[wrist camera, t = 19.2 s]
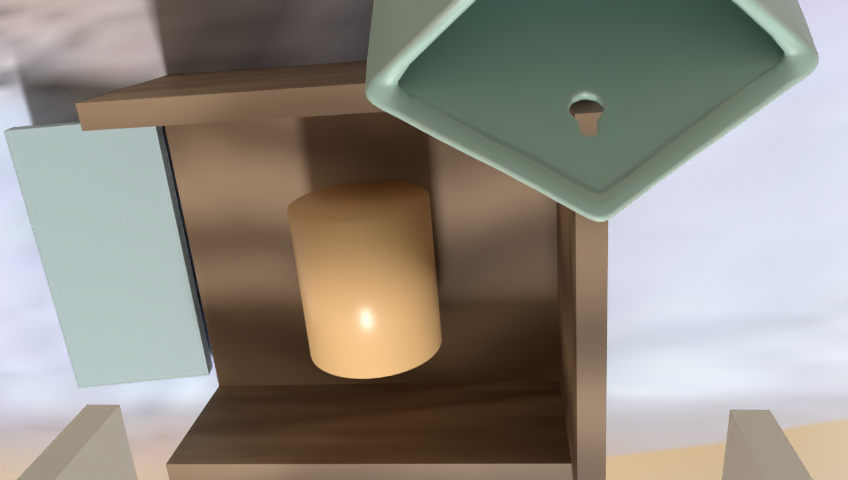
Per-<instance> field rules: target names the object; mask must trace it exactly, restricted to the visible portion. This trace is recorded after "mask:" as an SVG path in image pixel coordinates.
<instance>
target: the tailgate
mask: <svg viewBox="0 0 848 480" xmlns="http://www.w3.org/2000/svg"><path fill="white" fill-rule="evenodd" d="M4 133H5V137H6V140H7V144H8V147H9V151H10V154H11V157H12V161H13V164H14V168H15V171H16V175H17V178H18V182H19V185H20V188H21V192H22V195H23V199H24V202H25V206H26V209H27V213H28V216H29V219H30V223H31V226H32V230H33V233H34V237H35V240H36V244H37V247H38V250H39V254H40V257H41V261H42V264H43V268H44V271H45V275H46V278H47V281H48V285H49V288H50V292H51V295H52V299H53V302H54V306H55V309H56V312H57V316H58V319H59V323H60V326H61V330H62V333H63V337H64V340H65V343H66V347H67V350H68V354H69V357H70V361H71V364H72V368H73V371H74V374H75V378H76V381H77V385H78V388H84V387H94V386H104V385H114V384H124V383H134V382H144V381H154V380H164V379H173V378H183V377H193V376H203V375H209V374H210V371H211V369H212V367H213V366H212V362H211V357H210V352H209V348H208V343H207V338H206V333H205V329H204V324H203V319H202V314H201V310H200V305H199V300H198V296H197V291H196V286H195V281H194V277H193V272H192V267H191V262H190V258H189V253H188V248H187V244H186V239H185V234H184V229H183V225H182V220H181V215H180V210H179V206H178V201H177V196H176V192H175V187H174V182H173V177H172V173H171V168H170V163H169V158H168V154H167V149H166V144H165V139H164V135H163V130H162V126H154V127H138V128H123V129H107V130H91V131H82V128H81V124H80V121H78V122H67V123H56V124H45V125H34V126H23V127H13V128H10V129H8V130H5V131H4Z"/></svg>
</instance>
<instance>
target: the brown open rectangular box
mask: <svg viewBox="0 0 848 480" xmlns="http://www.w3.org/2000/svg"><path fill="white" fill-rule="evenodd" d="M366 67H367V61H355V62H342V63H328V64H314V65H301V66H287V67H273V68H260V69H246V70H232V71H219V72H205V73H191V74H178V75H167V76H163V77H160V78H157V79H154V80H150V81H147V82H144V83H140V84H137V85H134V86H131V87H127V88H124V89H121V90H118V91H114V92H111V93H108V94H105V95H101V96H98V97H95V98H92V99H88V100H85V101H82V102H78V103H75V104H76V108H77V112H78V116H79V120H80V124H81V128H82V131H91V130H107V129H123V128H138V127H154V126H165V130H166V135H167V139H168V144H169V149H170V154H171V158H172V163H173V168H174V173H175V177H176V182H177V187H178V192H179V197H180V201H181V206H182V211H183V216H184V220H185V225H186V230H187V235H188V239H189V244H190V249H191V254H192V258H193V263H194V268H195V273H196V277H197V282H198V287H199V292H200V297H201V301H202V306H203V311H204V316H205V320H206V325H207V330H208V335H209V339H210V344H211V349H212V354H213V358H214V363H215V368H216V373H217V377H218V382H219V387H218V389H217V390H216V392H215V393H214V395H213V396H212V397H211V399H210V400H209V402H208V403H207V405H206V406H205V408H204V409H203V411H202V412H201V414H200V415H199V417H198V418H197V420H196V421H195V422H194V424H193V425H192V427H191V428H190V430H189V431H188V433H187V434H186V436H185V437H184V439H183V440H182V442H181V443H180V445H179V446H178V447H177V449H176V450H175V452H174V453H173V455H172V456H171V458H170V459H169V461H168V462H167V464H166V466H167V470H168V474H169V478H170V480H605V476H606V471H605V470H606V468H605V466H606V374H607V270H608V220H607V221H604V222H595V221H593V220H590V219H588V218H586V217H584V216H582V215H580V214H578V213H576V212H575V211H573V210H571V209H569V208H567V207H566V206H564V205H562V204H560V203H558V202H556V201H555V200H553V199H551V198H549V197H547V196H546V195H544V194H542V193H540V192H539V191H537V190H535V189H533V188H531V187H529V186H527V185H526V184H524V183H522V182H520V181H518V180H516V179H514V178H512V177H511V176H509V175H507V174H505V173H503V172H501V171H499V170H497V169H495V168H494V167H491V166H489V165H487V164H485V163H483V162H481V161H479V160H477V159H475V158H473V157H471V156H469V155H467V154H465V153H463V152H461V151H459V150H457V149H456V148H454V147H452V146H450V145H448V144H446V143H444V142H442V141H440V140H438V139H436V138H434V137H432V136H431V135H429V134H427V133H425V132H423V131H421V130H419V129H418V128H416V127H414V126H412V125H410V124H408V123H407V122H405V121H403V120H401V119H399V118H397V117H395V116H393V115H391V114H389V113H387V112H385V111H383V110H381V109H380V108H378V107H376V106H375V105H373V104H372V103H371V102H370V101H369V100H368V99H367V98H366V95H365V82H366ZM569 111H570V113H571V115H572V116H573V117H574V118H575V119H576V120H577V121H578V122H579V125H580V131H581V132H582V133H583V134H584V135H587V136H594V135H596V134H597V120H598V119H599V117H600V116H601V115H602V112H603V107H602V106H601V105H600V104H599V103H597V102H595V101H591V100H580V101H577V102H575V103H572V105H571V106H570V107H569ZM363 181H402V182H409V183H413V184H417V185H420V186H422V187H424V188H425V189H427V190H428V192H429V198H430V209H431V221H432V232H433V243H434V255H435V266H436V277H437V289H438V300H439V311H440V323H441V334H442V343H441V346H440V348H439V349H438V351H437V352H436V353H435V354H434V356H433V357H431V358H430V359H429V360H428V361H426V362H424V363H423V364H421V365H419V366H417V367H415V368H413V369H411V370H408V371H405V372H402V373H399V374H395V375H391V376H386V377H380V378H369V379H356V378H345V377H340V376H336V375H332V374H329V373H327V372H325V371H323V370H321V369H320V368H318V367H317V366H316V365H315V364H314V362H313V361H312V358H311V354H310V348H309V341H308V335H307V329H306V323H305V317H304V311H303V305H302V298H301V292H300V286H299V280H298V274H297V268H296V261H295V255H294V249H293V243H292V237H291V231H290V224H289V218H288V212H287V208H288V206H289V205H290V204H291V203H292V202H293V201H294V200H296V199H297V198H299V197H301V196H303V195H305V194H308V193H310V192H313V191H316V190H319V189H323V188H327V187H331V186H336V185H341V184H347V183H354V182H363Z"/></svg>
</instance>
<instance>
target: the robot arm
mask: <svg viewBox="0 0 848 480" xmlns="http://www.w3.org/2000/svg"><path fill="white" fill-rule="evenodd" d="M17 480H138V479H137V475H136V471H135V467H134V463H133V458H132V454H131V450H130V446H129V442H128V438H127V434H126V430H125V426H124V422H123V418H122V414H121V409H120V405H86V406H85V408H84V409H83V410H82V411H81V412H80V413H79V414H78V415H77V416H76V417H75V418H74V419H73V420H72V421H71V422H70V424H69V425H68V426H67V427H66V428H65V429H64V430H63V431H62V432H61V433H60V434H59V435H58V436H57V437H56V438H55V440H54V441H53V442H52V443H51V444H50V445H49V446H48V447H47V448H46V449H45V450H44V451H43V452H42V453H41V455H40V456H39V457H38V458H37V459H36V460H35V461H34V462H33V463H32V464H31V465H30V466H29V467H28V468H27V469H26V471H25V472H24V473H23V474H22V475H21V476H20V477H19V478H18V479H17ZM722 480H813V479H812V478H811V476H810V475H809V473H808V471H807V470H806V468H805V466H804V465H803V463H802V462H801V460H800V458H799V457H798V455H797V454H796V452H795V451H794V449H793V447H792V445H791V444H790V442H789V441H788V439H787V437H786V436H785V434H784V433H783V431H782V429H781V428H780V426H779V425H778V423H777V421H776V420H775V418H774V416H773V415H772V413H771V412H770V410H730V415H729V424H728V433H727V441H726V450H725V459H724V467H723V476H722Z"/></svg>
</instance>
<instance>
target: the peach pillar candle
mask: <svg viewBox="0 0 848 480" xmlns="http://www.w3.org/2000/svg"><path fill="white" fill-rule="evenodd" d="M287 212H288V218H289V224H290V231H291V237H292V243H293V249H294V255H295V261H296V268H297V274H298V280H299V286H300V292H301V298H302V305H303V311H304V317H305V323H306V329H307V335H308V341H309V348H310V354H311V358H312V361H313V362H314V364H315V365H316V366H317V367H318V368H320V369H321V370H323V371H325V372H327V373H329V374H332V375H336V376H340V377H345V378H356V379H369V378H380V377H386V376H391V375H395V374H399V373H402V372H405V371H408V370H411V369H413V368H415V367H417V366H419V365H421V364H423V363H424V362H426V361H428V360H429V359H430V358H431V357H433V356H434V354H435V353H436V352H437V351H438V349H439V348H440V346H441V343H442V334H441V323H440V311H439V300H438V289H437V277H436V266H435V255H434V243H433V232H432V221H431V209H430V198H429V192H428V190H427V189H425V188H424V187H422V186H420V185H417V184H413V183H409V182H402V181H363V182H354V183H347V184H341V185H336V186H331V187H327V188H323V189H319V190H316V191H313V192H310V193H308V194H305V195H303V196H301V197H299V198H297V199H296V200H294V201H293V202H292V203H291V204H290V205H289V206H288V208H287Z"/></svg>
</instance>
